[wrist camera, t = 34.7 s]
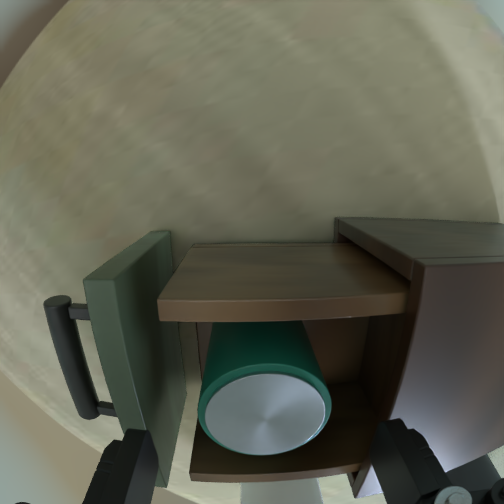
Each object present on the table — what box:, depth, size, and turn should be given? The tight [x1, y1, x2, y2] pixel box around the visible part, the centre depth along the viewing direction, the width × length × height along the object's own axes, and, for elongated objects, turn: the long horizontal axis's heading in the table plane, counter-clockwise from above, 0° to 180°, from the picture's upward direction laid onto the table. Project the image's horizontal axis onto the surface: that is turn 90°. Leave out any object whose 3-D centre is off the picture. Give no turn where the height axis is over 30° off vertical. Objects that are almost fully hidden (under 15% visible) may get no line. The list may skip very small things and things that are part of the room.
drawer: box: [43, 231, 411, 488], centre depth 15 cm, size 18×11×8 cm, turn 90°
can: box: [197, 320, 332, 455], centre depth 14 cm, size 5×5×7 cm
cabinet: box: [334, 217, 504, 498], centre depth 15 cm, size 15×13×10 cm
